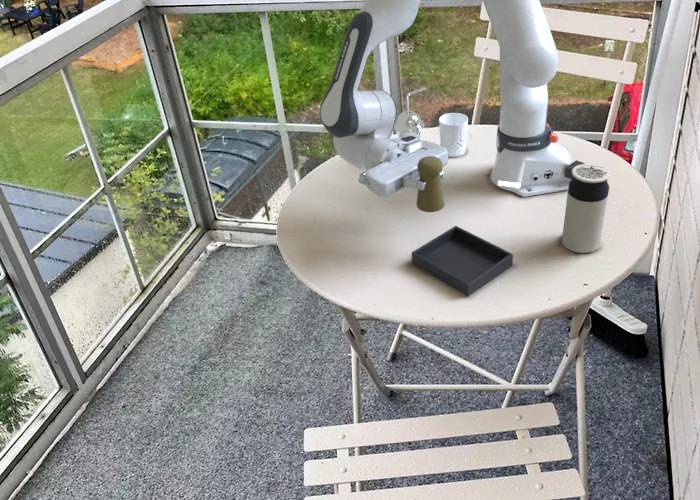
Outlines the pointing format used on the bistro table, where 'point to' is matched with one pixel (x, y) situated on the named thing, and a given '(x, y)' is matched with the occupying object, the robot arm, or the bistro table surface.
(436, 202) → the olive pawn
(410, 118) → the cup with straw
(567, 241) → the travel mug
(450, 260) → the bin
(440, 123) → the white cup
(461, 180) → the bistro table surface
